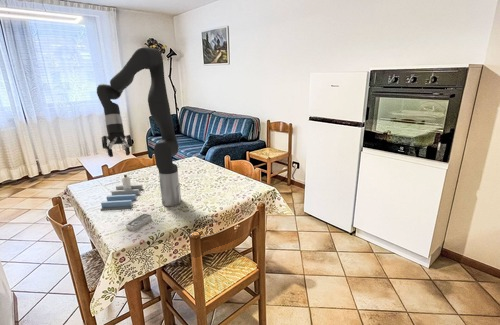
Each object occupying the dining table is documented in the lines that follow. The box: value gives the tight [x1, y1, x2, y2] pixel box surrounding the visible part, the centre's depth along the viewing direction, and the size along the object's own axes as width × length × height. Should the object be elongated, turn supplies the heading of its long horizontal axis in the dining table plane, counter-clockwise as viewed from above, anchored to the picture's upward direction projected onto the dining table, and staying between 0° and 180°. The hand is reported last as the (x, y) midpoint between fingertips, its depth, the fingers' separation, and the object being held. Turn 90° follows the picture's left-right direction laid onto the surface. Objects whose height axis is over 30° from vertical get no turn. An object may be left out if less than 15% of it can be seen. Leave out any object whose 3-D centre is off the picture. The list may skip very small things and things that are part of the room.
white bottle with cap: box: [121, 174, 132, 190], centre depth 149 cm, size 4×4×10 cm
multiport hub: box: [125, 213, 152, 231], centre depth 119 cm, size 4×11×2 cm, turn 159°
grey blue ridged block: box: [100, 183, 144, 212], centre depth 144 cm, size 14×26×4 cm, turn 7°
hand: (119, 156), depth 136 cm, fingers open, 8 cm apart
